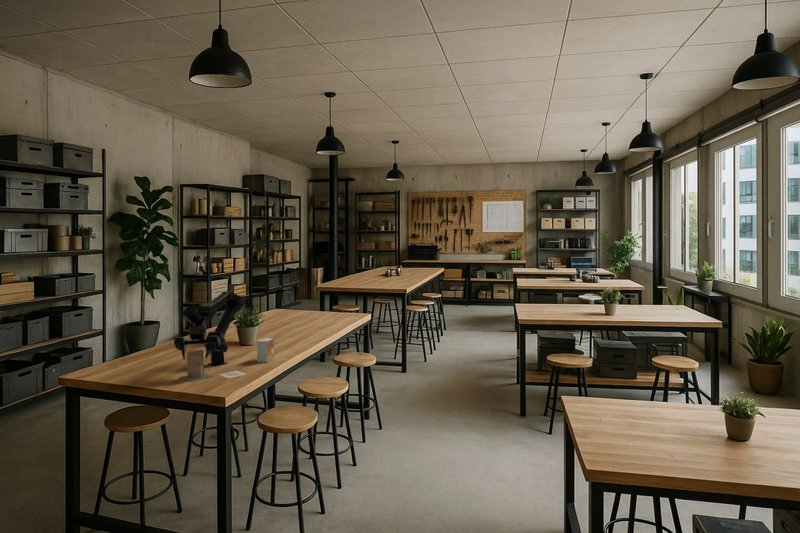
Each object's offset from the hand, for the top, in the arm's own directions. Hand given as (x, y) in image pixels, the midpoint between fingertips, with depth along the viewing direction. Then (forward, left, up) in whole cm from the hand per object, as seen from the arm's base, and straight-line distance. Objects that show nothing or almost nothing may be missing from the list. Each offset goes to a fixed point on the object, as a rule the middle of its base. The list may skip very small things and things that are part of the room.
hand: (194, 358), depth 226 cm
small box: (0, +39, -9) cm, 40 cm away
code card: (+9, +13, -9) cm, 18 cm away
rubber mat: (-1, +1, -9) cm, 9 cm away
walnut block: (-1, 0, -8) cm, 8 cm away
